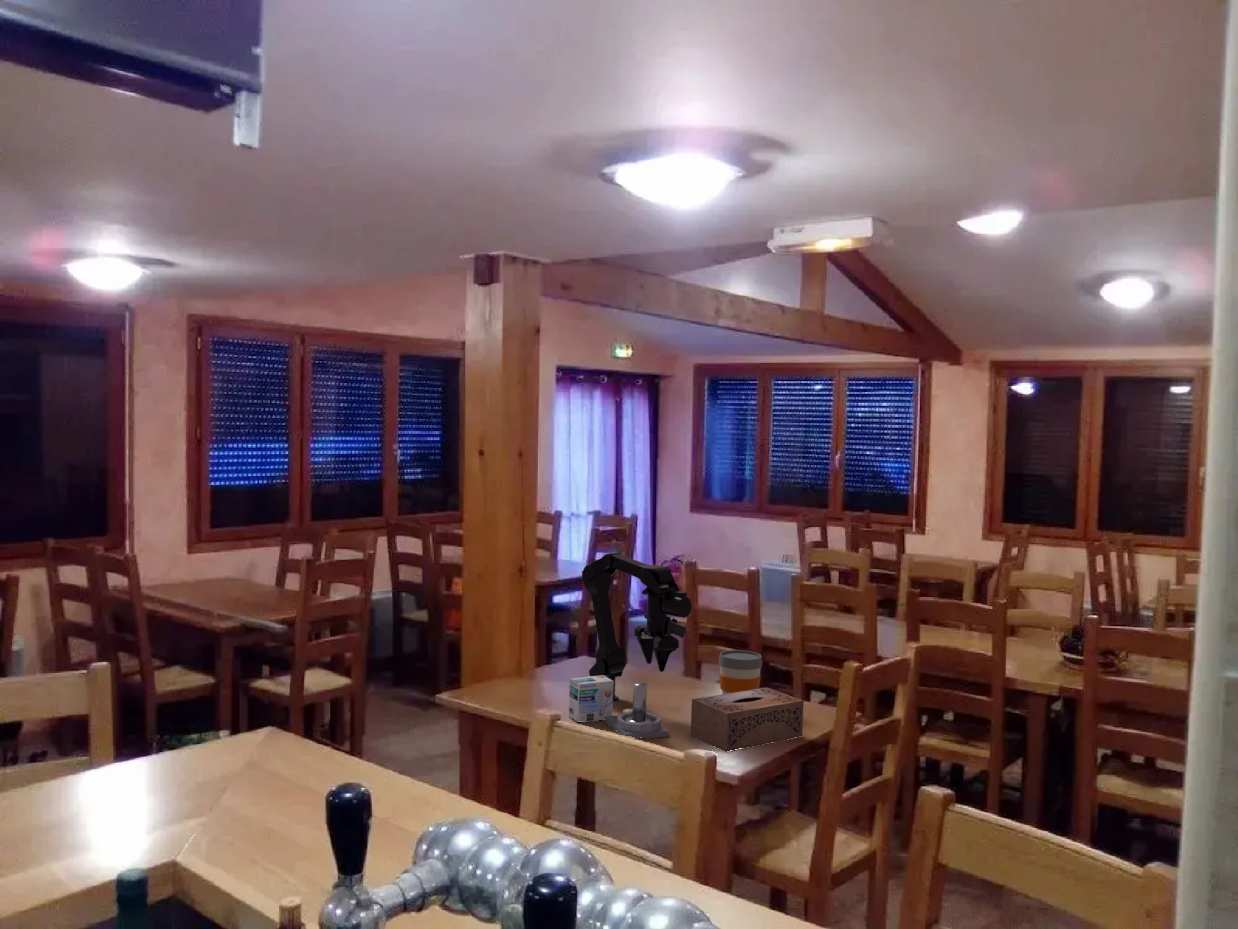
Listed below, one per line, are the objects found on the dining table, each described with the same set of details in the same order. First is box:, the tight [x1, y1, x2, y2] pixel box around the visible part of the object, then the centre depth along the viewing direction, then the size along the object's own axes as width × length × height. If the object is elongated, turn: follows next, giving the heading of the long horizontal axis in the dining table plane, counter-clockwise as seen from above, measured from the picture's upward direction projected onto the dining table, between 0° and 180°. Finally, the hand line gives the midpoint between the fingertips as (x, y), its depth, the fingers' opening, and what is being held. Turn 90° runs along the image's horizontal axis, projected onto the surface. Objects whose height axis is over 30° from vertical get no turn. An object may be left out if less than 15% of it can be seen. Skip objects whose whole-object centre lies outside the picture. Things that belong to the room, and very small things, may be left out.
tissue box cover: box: [690, 687, 805, 753], centre depth 264 cm, size 26×14×10 cm, turn 123°
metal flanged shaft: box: [626, 682, 652, 724], centre depth 265 cm, size 7×7×11 cm
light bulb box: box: [568, 675, 614, 723], centre depth 275 cm, size 11×7×11 cm, turn 117°
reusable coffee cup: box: [718, 649, 763, 694], centre depth 292 cm, size 13×12×15 cm
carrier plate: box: [603, 708, 670, 740], centre depth 267 cm, size 16×12×4 cm
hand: (655, 667), depth 281 cm, fingers open, 9 cm apart
